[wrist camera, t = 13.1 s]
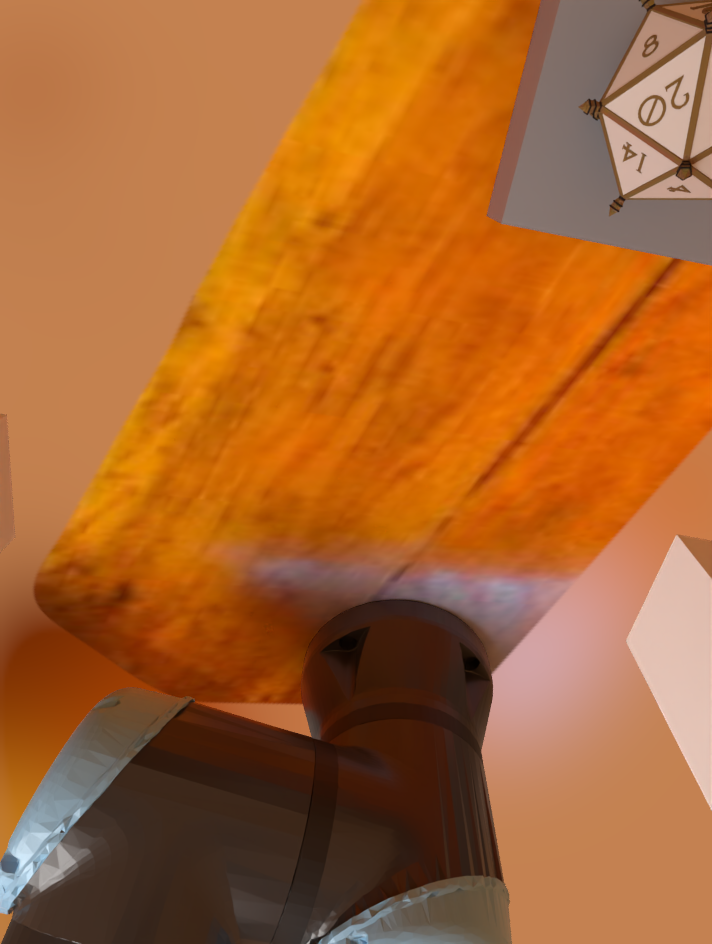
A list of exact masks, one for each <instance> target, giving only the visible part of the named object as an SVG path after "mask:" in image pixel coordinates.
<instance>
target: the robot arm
mask: <svg viewBox="0 0 712 944" xmlns="http://www.w3.org/2000/svg"><path fill="white" fill-rule="evenodd" d="M12 499H13V498H12V483H11V469H10V454H9V440H8V425H7V415H5V414H0V552H1V551H2V550H3V549H4V548H5V547H6V546H7V545H8V544H9V543H10V542H11V541H12V540H13V539H14V538H15V527H14V512H13V500H12ZM626 642H627V644H628V647H629V648H630V650H631V652H632V654H633V656H634V658H635V660H636V662H637V664H638V666H639V668H640V670H641V672H642V674H643V676H644V678H645V680H646V682H647V684H648V686H649V688H650V690H651V692H652V694H653V696H654V698H655V700H656V702H657V704H658V706H659V707H660V710H661V712H662V714H663V716H664V717H665V719H666V721H667V723H668V725H669V727H670V729H671V731H672V733H673V735H674V737H675V739H676V741H677V743H678V745H679V747H680V749H681V751H682V753H683V755H684V757H685V759H686V761H687V763H688V765H689V767H690V769H691V771H692V773H693V775H694V776H695V779H696V781H697V783H698V784H699V786H700V788H701V790H702V792H703V794H704V796H705V798H706V800H707V802H708V804H709V806H710V808H711V810H712V541H710V540H704V539H699V538H693V537H688V536H682V535H676V537H675V539H674V541H673V543H672V545H671V547H670V549H669V551H668V553H667V556H666V558H665V560H664V562H663V564H662V566H661V568H660V570H659V573H658V575H657V577H656V579H655V581H654V583H653V585H652V587H651V589H650V591H649V593H648V596H647V598H646V600H645V602H644V604H643V606H642V608H641V610H640V612H639V615H638V616H637V619H636V621H635V623H634V625H633V627H632V629H631V631H630V633H629V635H628V637H627V640H626ZM301 696H302V702H303V706H304V710H305V713H306V717H307V721H308V725H309V729H310V732H311V736H312V737H309V736H305V735H302V734H298V733H295V732H291V731H288V730H284V729H281V728H277V727H273V726H271V725H267V724H264V723H261V722H257V721H254V720H251V719H248V718H244V717H241V716H237V715H234V714H231V713H228V712H224V711H221V710H217V709H215V708H211V707H208V706H205V705H202V704H198V703H195V699H194V698H192V697H188V696H187V697H184V698H178V697H174V696H169V695H165V694H161V693H157V692H152V691H148V690H144V689H140V688H124V689H120V690H117V691H115V692H113V693H111V694H109V695H108V696H106V697H105V698H104V699H102V700H101V701H100V702H99V703H98V704H97V705H96V706H95V707H94V708H93V709H92V710H91V711H90V712H89V713H88V715H87V716H86V717H85V718H84V720H83V721H82V722H81V723H80V725H79V726H78V727H77V729H76V730H75V731H74V733H73V734H72V736H71V737H70V738H69V740H68V741H67V743H66V744H65V746H64V747H63V749H62V750H61V752H60V753H59V755H58V756H57V758H56V760H55V761H54V762H53V764H52V766H51V767H50V769H49V770H48V772H47V774H46V775H45V777H44V779H43V780H42V782H41V784H40V785H39V787H38V789H37V790H36V792H35V794H34V795H33V797H32V799H31V801H30V802H29V804H28V806H27V808H26V810H25V812H24V813H23V815H22V817H21V819H20V821H19V822H18V824H17V827H16V828H15V830H14V833H13V834H12V836H11V838H10V840H9V844H8V848H7V850H6V852H5V854H4V856H3V858H2V860H1V862H0V913H4V914H10V913H12V911H13V916H12V919H11V922H10V924H9V926H8V929H7V931H6V934H5V936H4V938H3V941H2V943H1V944H512V941H511V930H510V919H509V908H508V907H509V902H510V901H509V893H508V890H507V888H506V886H505V884H504V879H503V873H502V868H501V863H500V856H499V851H498V845H497V839H496V834H495V828H494V822H493V817H492V811H491V805H490V800H489V794H488V789H487V782H486V777H485V771H484V766H483V760H482V754H481V749H482V745H483V740H484V735H485V731H486V726H487V722H488V717H489V712H490V707H491V703H492V697H493V682H492V676H491V671H490V666H489V661H488V657H487V654H486V651H485V649H484V647H483V645H482V643H481V641H480V640H479V638H478V637H477V635H476V634H475V633H474V632H473V631H472V630H471V629H470V628H469V627H468V626H467V625H466V624H465V623H464V622H462V621H461V620H460V619H458V618H457V617H455V616H454V615H452V614H450V613H448V612H446V611H444V610H442V609H439V608H437V607H434V606H431V605H428V604H424V603H419V602H413V601H404V600H387V601H378V602H372V603H368V604H364V605H360V606H357V607H355V608H352V609H350V610H347V611H345V612H343V613H342V614H340V615H338V616H336V617H335V618H333V619H332V620H331V621H329V622H328V623H327V624H326V625H325V626H324V627H323V628H322V629H321V630H320V631H319V632H318V633H317V634H316V635H315V637H314V638H313V640H312V642H311V643H310V645H309V647H308V649H307V652H306V655H305V659H304V666H303V672H302V679H301Z"/></svg>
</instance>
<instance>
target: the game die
mask: <svg viewBox="0 0 712 944" xmlns="http://www.w3.org/2000/svg"><path fill="white" fill-rule="evenodd" d="M638 1H641V3H642V7H644V8H645V9H646V10H647V13H646V15H645V17H644V19H643V21H642V22H641V24H640V26H639V28H638V30H637V32H636V34H635V36H634V38H633V39H632V41H631V43H630V45H629V47H628V49H627V51H626V53H625V55H624V57H623V58H622V60H621V62H620V64H619V66H618V68H617V70H616V72H615V74H614V75H613V77H612V79H611V81H610V83H609V85H608V87H607V89H606V91H605V92H604V94H603V96H602V98H601V100H600V102H598V101H596V99H594V100H590V99H588V100H587V101H586V102H585V103H583V104H582V105H580V106H579V107H578V108H580V109H581V110H583V113H585V114H586V115H588V114H589V113H590V115H591V116H592V117H593V119H595V120H596V121H598V119H600V122H601V126H602V129H603V133H604V137H605V141H606V145H607V149H608V152H609V156H610V160H611V164H612V168H613V172H614V175H615V179H616V183H617V187H618V191H619V197H618V198H617V199H616V200H613V201H614V202H613V203H612V204H611V205H609V206H610V210H609V216H611V215H613V214H615V213H617V212H619V210H620V208H621V207H623V203H624V201H625V200H712V0H703V1H693V2H683V3H672V4H662V5H656V4H655V2H654V0H638Z"/></svg>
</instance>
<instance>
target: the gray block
mask: <svg viewBox="0 0 712 944" xmlns="http://www.w3.org/2000/svg"><path fill="white" fill-rule="evenodd" d="M693 1H703V0H654V2H655V4H656V5H662V4H672V3H683V2H693ZM646 13H647V10H646V9H645V8H644V7H642V3H641V1H638V0H541V3H540V7H539V11H538V15H537V19H536V23H535V27H534V31H533V35H532V39H531V43H530V47H529V51H528V55H527V59H526V63H525V67H524V70H523V74H522V78H521V82H520V86H519V90H518V94H517V98H516V102H515V106H514V110H513V114H512V118H511V122H510V126H509V130H508V134H507V138H506V142H505V145H504V149H503V153H502V157H501V161H500V165H499V169H498V173H497V177H496V181H495V185H494V189H493V193H492V197H491V201H490V205H489V209H488V213H487V216H488V217H490V218H492V219H494V220H496V221H497V222H499V223H501V224H506V225H511V226H516V227H521V228H526V229H531V230H536V231H541V232H546V233H552V234H557V235H562V236H567V237H572V238H577V239H582V240H587V241H592V242H597V243H602V244H607V245H612V246H617V247H622V248H627V249H632V250H637V251H642V252H647V253H652V254H657V255H662V256H667V257H672V258H677V259H682V260H687V261H692V262H697V263H702V264H707V265H712V200H625V201H624V203H623V207H621V208H620V210H619V212H617V213H615V214H613V215H611V216H609V210H610V206H609V205H611V204H612V203H613V202H614V201H613V200H616V199H617V198H618V197H619V191H618V187H617V183H616V179H615V175H614V172H613V168H612V164H611V160H610V156H609V152H608V149H607V145H606V141H605V137H604V133H603V129H602V126H601V122H600V119H598V121H596V120H595V119H593V117H592V116H591V115H590V113H589V114H588V115H586V114H585V113H583V110H581V109H580V108H578V107H579V106H580V105H582V104H583V103H585V102H586V101H587V100H588V99H590V100H594V99H596V101H598V102H600V100H601V98H602V96H603V94H604V92H605V91H606V89H607V87H608V85H609V83H610V81H611V79H612V77H613V75H614V74H615V72H616V70H617V68H618V66H619V64H620V62H621V60H622V58H623V57H624V55H625V53H626V51H627V49H628V47H629V45H630V43H631V41H632V39H633V38H634V36H635V34H636V32H637V30H638V28H639V26H640V24H641V22H642V21H643V19H644V17H645V15H646Z"/></svg>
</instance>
